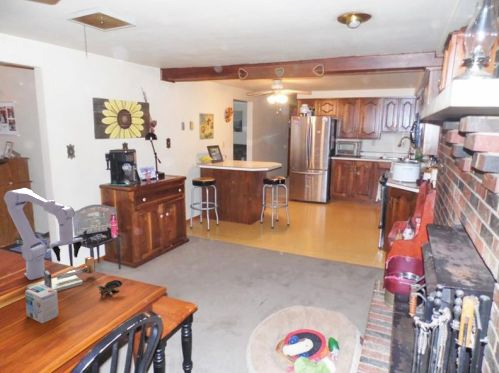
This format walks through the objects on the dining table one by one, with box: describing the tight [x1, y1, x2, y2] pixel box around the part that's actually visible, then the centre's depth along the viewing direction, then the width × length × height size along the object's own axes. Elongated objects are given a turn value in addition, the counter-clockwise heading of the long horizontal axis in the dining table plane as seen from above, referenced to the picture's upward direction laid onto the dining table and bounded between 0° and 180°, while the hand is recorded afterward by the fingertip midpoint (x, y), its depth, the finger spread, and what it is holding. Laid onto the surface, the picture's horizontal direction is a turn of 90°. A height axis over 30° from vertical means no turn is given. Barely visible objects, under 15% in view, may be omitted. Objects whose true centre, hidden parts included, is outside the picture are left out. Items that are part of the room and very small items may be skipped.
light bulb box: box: [24, 285, 59, 324], centre depth 133 cm, size 11×7×11 cm, turn 62°
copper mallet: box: [56, 256, 95, 280], centre depth 164 cm, size 4×17×7 cm, turn 137°
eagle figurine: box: [97, 279, 123, 298], centre depth 153 cm, size 8×7×9 cm
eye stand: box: [26, 269, 84, 292], centre depth 158 cm, size 12×20×8 cm, turn 137°
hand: (67, 258), depth 164 cm, fingers open, 7 cm apart
